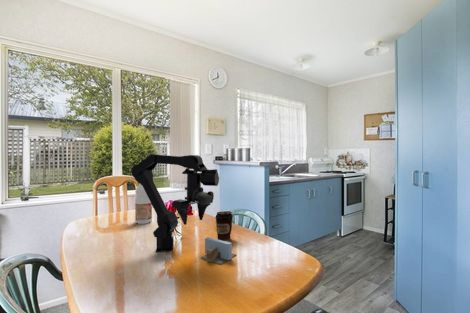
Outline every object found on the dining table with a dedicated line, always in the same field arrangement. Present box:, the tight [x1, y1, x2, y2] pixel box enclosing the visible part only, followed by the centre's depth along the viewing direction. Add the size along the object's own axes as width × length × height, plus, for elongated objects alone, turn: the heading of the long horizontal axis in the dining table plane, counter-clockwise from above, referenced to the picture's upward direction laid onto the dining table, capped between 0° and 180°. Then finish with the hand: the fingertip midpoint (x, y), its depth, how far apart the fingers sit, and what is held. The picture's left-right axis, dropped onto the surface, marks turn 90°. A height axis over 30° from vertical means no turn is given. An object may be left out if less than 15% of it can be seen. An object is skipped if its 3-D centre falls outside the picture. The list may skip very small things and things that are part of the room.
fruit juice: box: [134, 183, 153, 225], centre depth 149 cm, size 9×9×28 cm
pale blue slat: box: [204, 236, 233, 261], centre depth 97 cm, size 12×2×6 cm, turn 55°
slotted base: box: [200, 241, 237, 265], centre depth 97 cm, size 12×10×4 cm
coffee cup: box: [215, 210, 234, 242], centre depth 118 cm, size 9×8×13 cm
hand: (193, 222), depth 103 cm, fingers open, 9 cm apart
